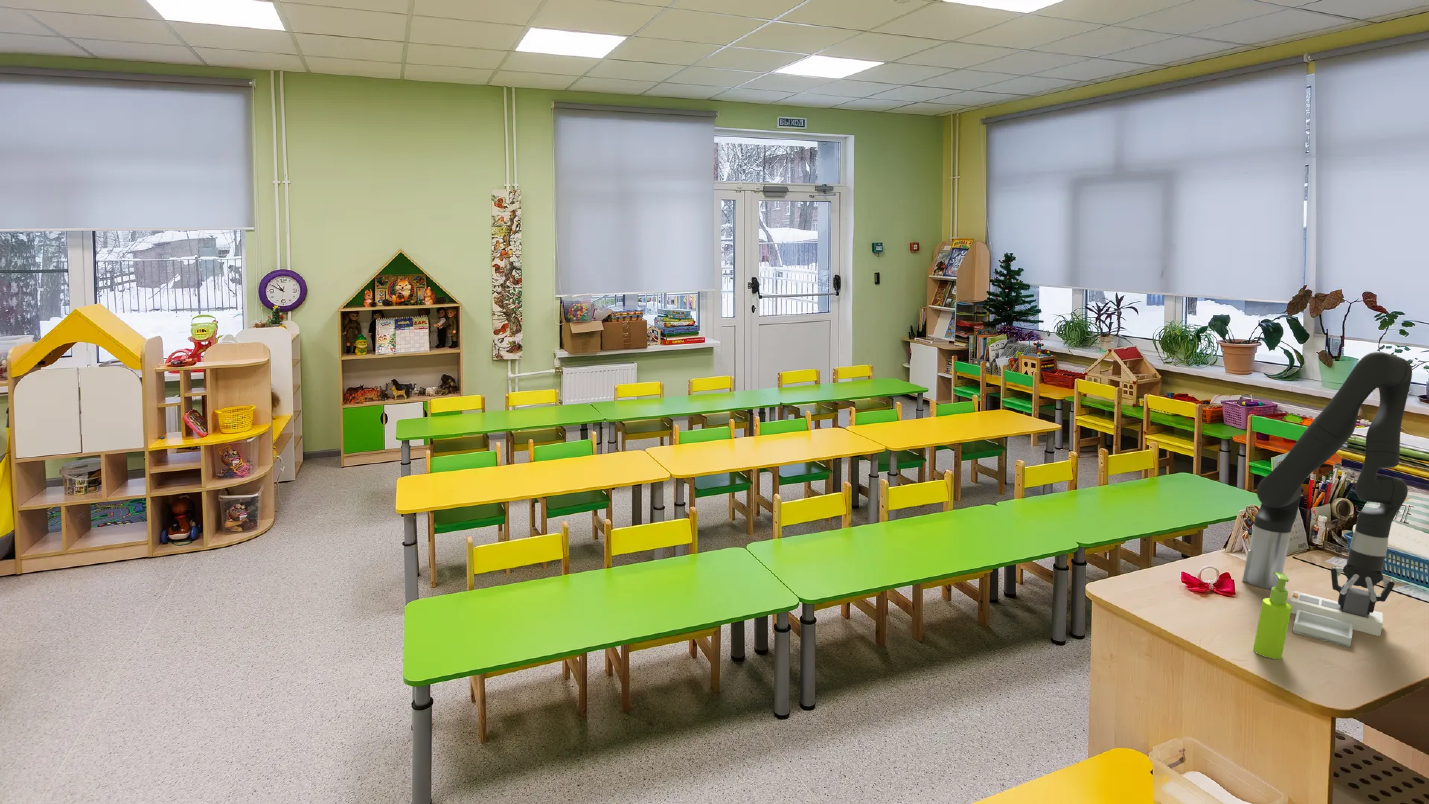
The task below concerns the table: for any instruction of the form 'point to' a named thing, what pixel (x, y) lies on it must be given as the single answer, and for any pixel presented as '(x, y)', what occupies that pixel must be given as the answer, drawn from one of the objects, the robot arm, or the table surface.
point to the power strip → (1336, 612)
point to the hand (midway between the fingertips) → (1354, 609)
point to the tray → (1323, 628)
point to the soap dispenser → (1273, 621)
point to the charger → (1356, 602)
